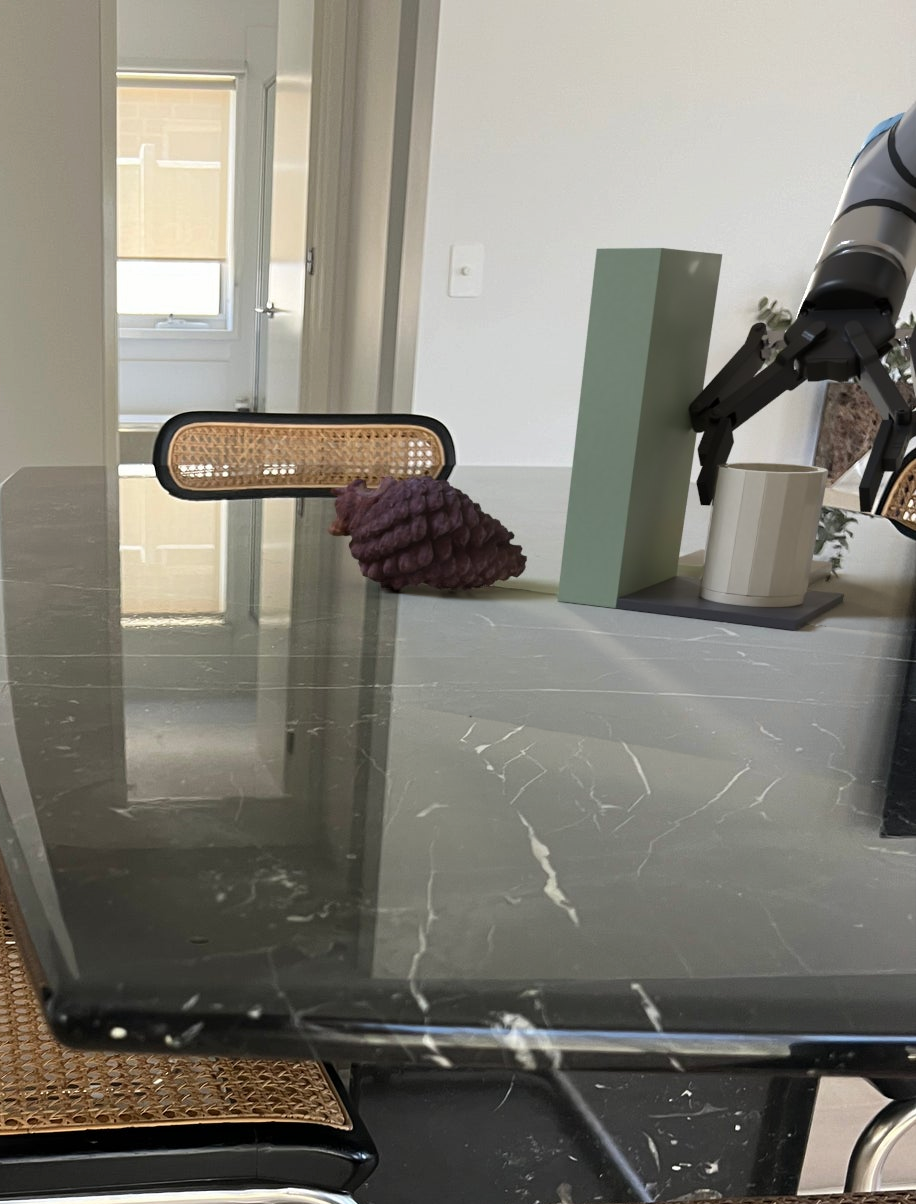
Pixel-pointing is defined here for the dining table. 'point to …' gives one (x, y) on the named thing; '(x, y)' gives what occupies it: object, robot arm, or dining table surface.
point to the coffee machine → (646, 441)
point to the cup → (762, 533)
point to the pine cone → (424, 535)
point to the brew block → (694, 561)
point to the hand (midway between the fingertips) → (781, 497)
